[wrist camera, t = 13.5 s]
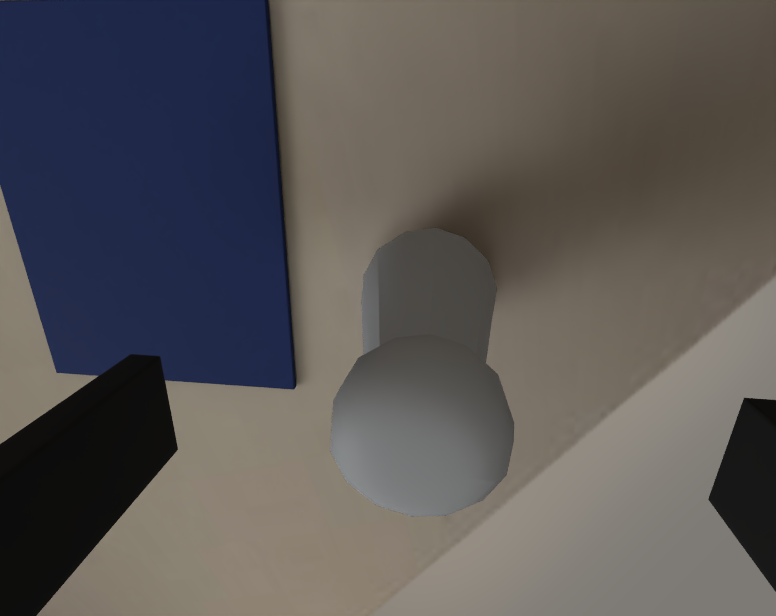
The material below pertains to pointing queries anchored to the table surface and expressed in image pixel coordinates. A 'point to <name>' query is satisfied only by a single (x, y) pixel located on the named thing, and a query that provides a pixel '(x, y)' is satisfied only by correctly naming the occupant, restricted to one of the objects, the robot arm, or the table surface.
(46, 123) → the cloth
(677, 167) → the table surface
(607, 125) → the table surface
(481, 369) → the salt shaker
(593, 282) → the table surface
